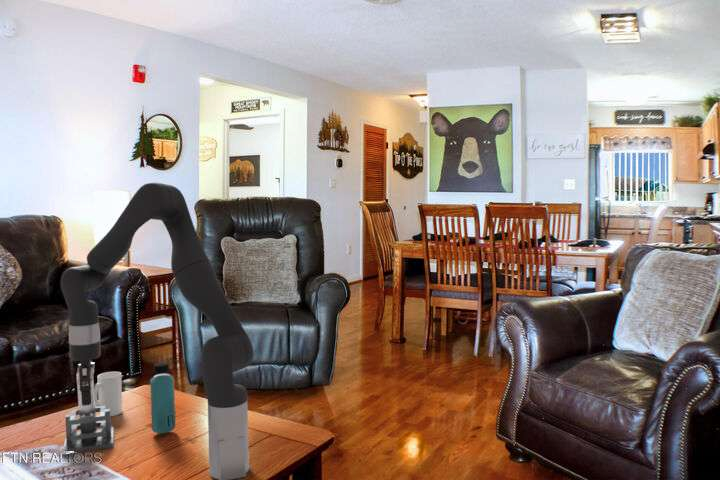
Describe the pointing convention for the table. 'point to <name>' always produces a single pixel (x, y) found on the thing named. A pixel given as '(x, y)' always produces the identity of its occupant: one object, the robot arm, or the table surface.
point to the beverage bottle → (162, 400)
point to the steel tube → (87, 410)
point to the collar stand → (74, 437)
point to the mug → (109, 392)
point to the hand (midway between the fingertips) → (87, 399)
